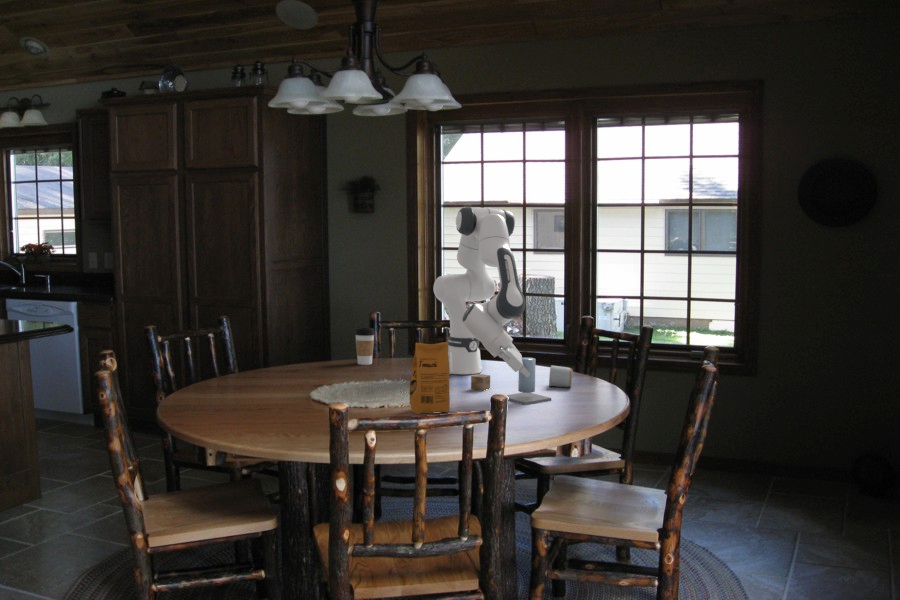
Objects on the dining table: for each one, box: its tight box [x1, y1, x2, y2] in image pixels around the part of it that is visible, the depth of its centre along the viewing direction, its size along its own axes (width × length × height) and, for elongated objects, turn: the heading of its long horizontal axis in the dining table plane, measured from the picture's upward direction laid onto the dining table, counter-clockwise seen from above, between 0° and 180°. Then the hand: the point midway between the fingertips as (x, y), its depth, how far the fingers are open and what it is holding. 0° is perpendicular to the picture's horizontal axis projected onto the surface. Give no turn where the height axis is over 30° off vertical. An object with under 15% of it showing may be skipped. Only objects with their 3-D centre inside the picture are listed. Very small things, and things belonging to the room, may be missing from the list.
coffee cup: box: [354, 327, 376, 366], centre depth 352 cm, size 8×8×15 cm
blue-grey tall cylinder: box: [517, 357, 536, 393], centre depth 286 cm, size 6×6×11 cm
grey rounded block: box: [548, 365, 574, 388], centre depth 311 cm, size 11×8×8 cm
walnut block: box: [470, 373, 491, 392], centre depth 303 cm, size 5×5×5 cm
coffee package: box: [408, 341, 451, 415], centre depth 268 cm, size 10×12×22 cm
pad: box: [506, 392, 552, 405], centre depth 287 cm, size 12×12×1 cm
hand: (528, 373), depth 286 cm, fingers closed on blue-grey tall cylinder, 6 cm apart
